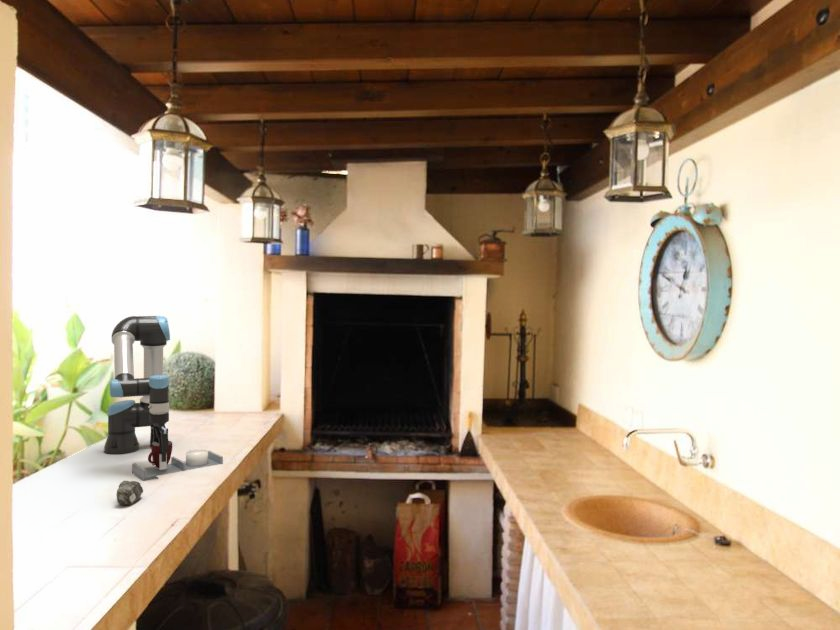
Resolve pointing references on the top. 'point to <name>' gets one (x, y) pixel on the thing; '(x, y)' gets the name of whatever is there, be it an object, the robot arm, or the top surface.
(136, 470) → the rack
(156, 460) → the red cup
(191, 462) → the white egg shape
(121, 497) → the stone
